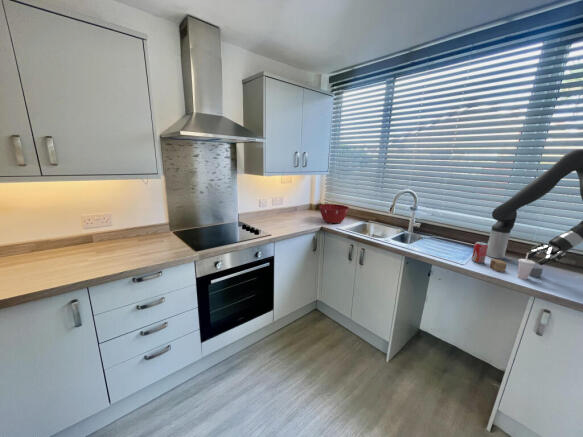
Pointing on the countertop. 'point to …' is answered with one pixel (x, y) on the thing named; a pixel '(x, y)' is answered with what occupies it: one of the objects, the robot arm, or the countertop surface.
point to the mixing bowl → (333, 212)
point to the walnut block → (498, 265)
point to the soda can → (479, 252)
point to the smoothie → (525, 268)
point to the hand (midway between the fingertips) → (532, 260)
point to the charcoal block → (536, 271)
